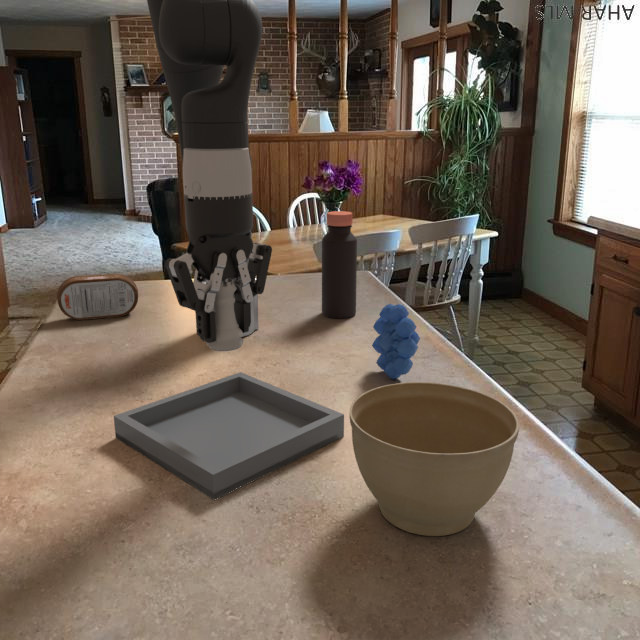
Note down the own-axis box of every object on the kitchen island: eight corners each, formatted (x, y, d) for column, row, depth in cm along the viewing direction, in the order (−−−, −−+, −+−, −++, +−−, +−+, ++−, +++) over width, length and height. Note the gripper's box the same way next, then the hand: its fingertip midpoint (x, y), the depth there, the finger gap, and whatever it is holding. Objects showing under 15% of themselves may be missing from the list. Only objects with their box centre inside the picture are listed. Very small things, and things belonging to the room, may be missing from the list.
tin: (139, 311, 136) (136, 270, 133) (140, 316, 133) (137, 274, 131) (59, 318, 131) (54, 276, 129) (59, 323, 129) (54, 280, 126)
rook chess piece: (237, 353, 78) (234, 286, 76) (200, 350, 79) (196, 284, 76) (248, 341, 82) (246, 277, 80) (213, 338, 83) (210, 275, 81)
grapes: (437, 389, 98) (441, 310, 95) (395, 395, 96) (397, 314, 93) (401, 361, 109) (404, 289, 105) (363, 367, 107) (364, 293, 103)
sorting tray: (241, 391, 97) (240, 372, 97) (343, 436, 84) (344, 414, 83) (115, 437, 84) (113, 415, 83) (214, 500, 70) (213, 474, 70)
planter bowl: (477, 584, 58) (486, 471, 55) (318, 525, 66) (318, 424, 63) (529, 496, 71) (539, 401, 68) (391, 456, 79) (394, 370, 76)
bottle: (362, 312, 135) (364, 212, 129) (344, 321, 130) (346, 216, 124) (333, 307, 139) (333, 209, 133) (315, 315, 133) (314, 213, 127)
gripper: (246, 182, 82) (250, 316, 87) (143, 192, 73) (155, 343, 78) (288, 187, 77) (290, 329, 82) (183, 199, 68) (193, 359, 73)
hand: (224, 335), depth 80 cm, fingers closed on rook chess piece, 4 cm apart
